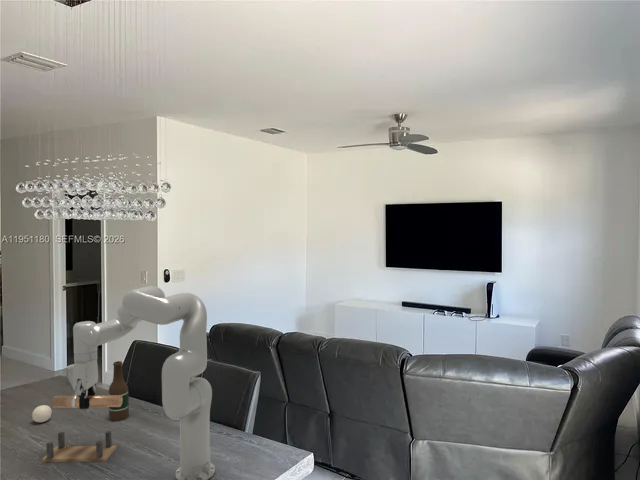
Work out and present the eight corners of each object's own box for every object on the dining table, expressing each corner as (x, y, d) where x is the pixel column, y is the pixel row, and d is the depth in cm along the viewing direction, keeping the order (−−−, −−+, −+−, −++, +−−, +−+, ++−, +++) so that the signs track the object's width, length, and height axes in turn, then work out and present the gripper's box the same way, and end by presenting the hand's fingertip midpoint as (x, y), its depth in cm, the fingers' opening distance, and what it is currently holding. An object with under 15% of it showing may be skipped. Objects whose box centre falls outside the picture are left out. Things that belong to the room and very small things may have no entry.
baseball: (56, 418, 196) (55, 402, 196) (44, 425, 189) (43, 409, 188) (41, 417, 197) (40, 401, 196) (28, 424, 189) (28, 408, 189)
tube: (122, 404, 169) (122, 393, 169) (118, 408, 165) (117, 397, 165) (57, 405, 169) (57, 394, 169) (51, 409, 165) (50, 398, 165)
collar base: (116, 448, 170) (116, 430, 169) (106, 460, 161) (105, 442, 160) (55, 449, 169) (55, 432, 169) (41, 462, 160) (41, 443, 160)
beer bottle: (104, 419, 194) (103, 363, 193) (120, 412, 201) (119, 358, 200) (117, 423, 191) (116, 366, 190) (132, 416, 198) (131, 360, 196)
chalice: (68, 403, 211) (67, 364, 210) (84, 401, 214) (83, 362, 213) (66, 409, 205) (65, 369, 204) (84, 406, 207) (83, 367, 207)
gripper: (87, 349, 175) (88, 397, 176) (62, 363, 158) (64, 415, 159) (106, 349, 175) (108, 397, 176) (84, 363, 158) (86, 415, 159)
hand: (87, 405), depth 167 cm, fingers closed on tube, 4 cm apart
